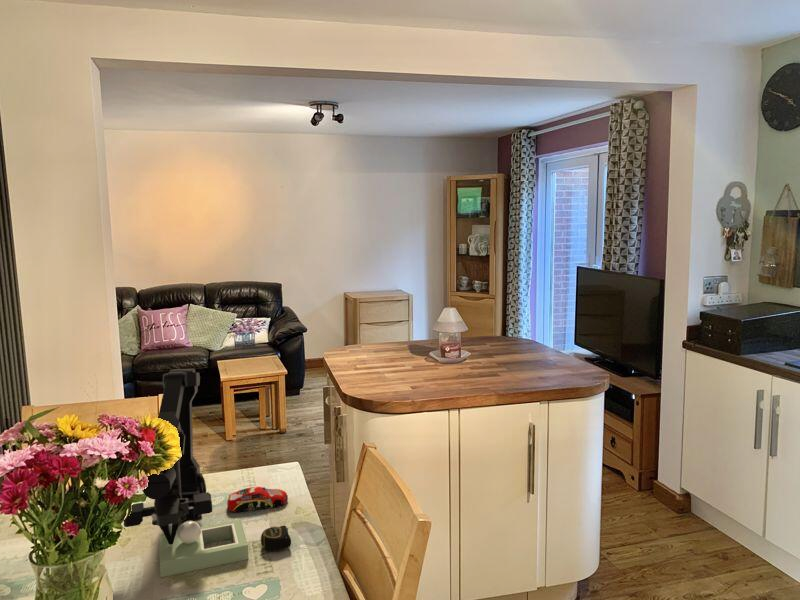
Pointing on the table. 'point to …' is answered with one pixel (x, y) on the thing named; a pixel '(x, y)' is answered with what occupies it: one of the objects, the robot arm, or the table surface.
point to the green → (194, 554)
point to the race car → (256, 499)
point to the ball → (189, 532)
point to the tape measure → (275, 538)
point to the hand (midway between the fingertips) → (171, 543)
